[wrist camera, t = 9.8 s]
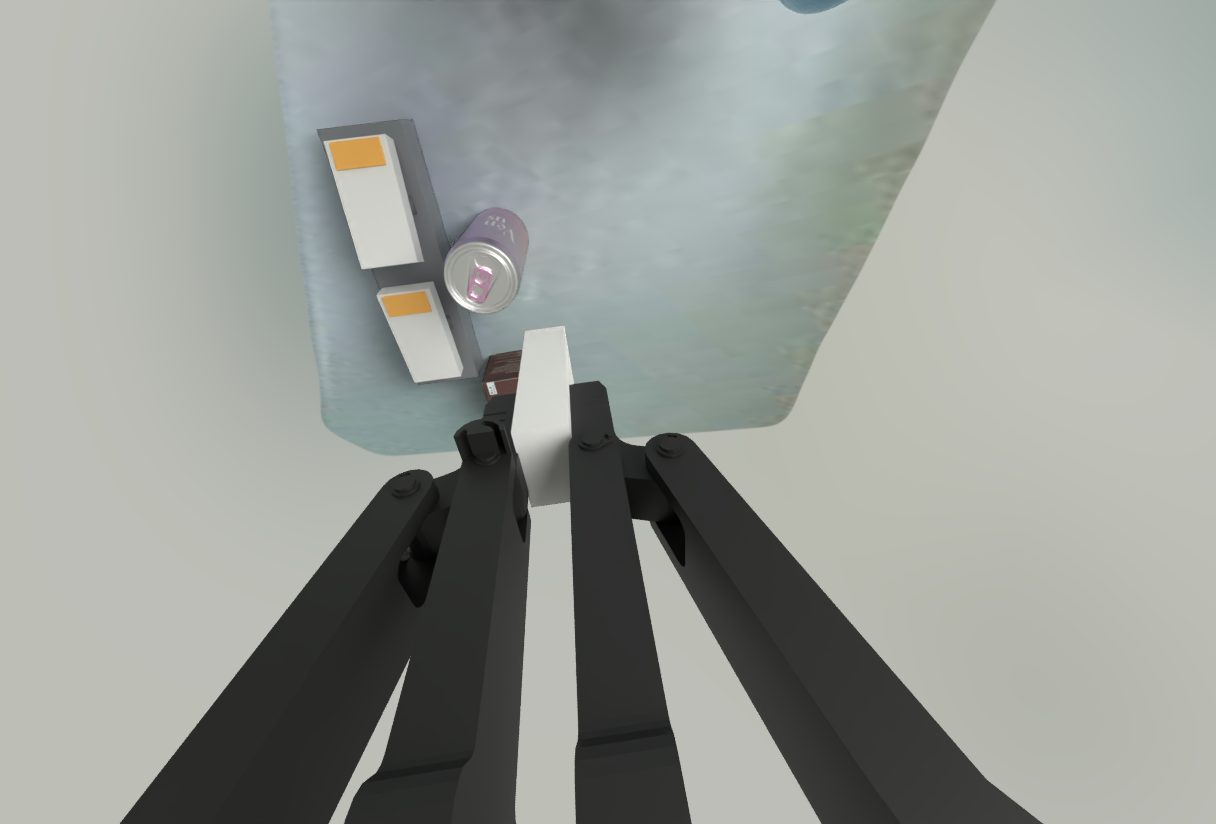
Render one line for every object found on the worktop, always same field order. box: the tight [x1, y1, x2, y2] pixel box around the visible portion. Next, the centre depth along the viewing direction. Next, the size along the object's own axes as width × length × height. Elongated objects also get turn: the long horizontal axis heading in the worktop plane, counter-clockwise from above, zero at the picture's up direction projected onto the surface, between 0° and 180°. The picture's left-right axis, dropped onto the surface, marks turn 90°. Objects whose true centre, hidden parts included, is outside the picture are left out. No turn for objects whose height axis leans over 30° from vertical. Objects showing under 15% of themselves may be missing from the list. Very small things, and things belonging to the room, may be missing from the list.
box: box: [482, 350, 522, 402], centre depth 53 cm, size 6×6×7 cm
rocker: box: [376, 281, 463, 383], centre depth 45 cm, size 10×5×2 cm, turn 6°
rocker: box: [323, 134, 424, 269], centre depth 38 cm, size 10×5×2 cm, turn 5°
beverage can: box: [444, 208, 529, 314], centre depth 41 cm, size 6×6×15 cm
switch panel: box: [317, 119, 483, 385], centre depth 45 cm, size 25×7×5 cm, turn 6°
